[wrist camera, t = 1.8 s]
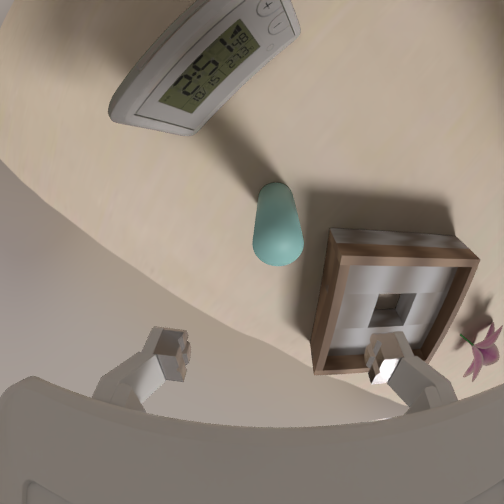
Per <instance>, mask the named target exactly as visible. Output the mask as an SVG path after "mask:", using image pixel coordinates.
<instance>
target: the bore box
mask: <svg viewBox="0 0 504 504" xmlns="http://www.w3.org/2000/svg"><path fill="white" fill-rule="evenodd" d="M479 262H480V259H479V258H478V257H477V256H476V255H475V254H474V253H473V252H472V251H471V250H470V249H469V248H468V247H467V246H466V245H465V244H464V243H463V242H462V241H460V240H459V239H458V238H457V237H456V236H448V235H435V234H422V233H408V232H393V231H377V230H359V229H339V228H330V229H329V237H328V244H327V251H326V258H325V264H324V271H323V277H322V283H321V289H320V294H319V300H318V305H317V311H316V316H315V321H314V326H313V331H312V336H311V340H310V346H311V354H312V363H313V371H314V375H332V374H350V373H363V372H369V370H370V368H368V367H367V366H366V364H365V358H364V355H365V350H366V347H367V345H369V344H370V343H371V342H370V337H371V335H372V334H373V333H384V332H396V331H402V332H404V334H405V336H406V339H407V341H408V343H409V345H410V347H411V350H412V352H413V354H414V356H418V357H419V358H420V359H422V360H423V361H424V362H426V363H427V364H429V362H430V360H431V359H432V357H433V356H434V354H435V352H436V351H437V349H438V347H439V346H440V344H441V342H442V340H443V339H444V337H445V335H446V333H447V332H448V330H449V328H450V326H451V324H452V322H453V320H454V318H455V316H456V314H457V312H458V310H459V308H460V306H461V304H462V302H463V300H464V298H465V296H466V293H467V291H468V289H469V287H470V284H471V282H472V279H473V277H474V275H475V272H476V270H477V267H478V264H479ZM379 294H401V295H400V298H399V301H398V303H397V306H396V309H378V310H374V308H375V305H376V302H377V299H378V296H379Z"/></svg>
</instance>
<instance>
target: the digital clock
mask: <svg viewBox="0 0 504 504" xmlns="http://www.w3.org/2000/svg"><path fill="white" fill-rule="evenodd" d="M300 32H301V31H300V25H299V22H298V19H297V16H296V13H295V10H294V8H293V5H292V2H291V0H197V1H196V2H194V3H193V4H192V5H191V6H190V7H189V8H188V9H187V10H186V11H185V12H184V13H182V14H181V15H180V16H179V17H178V18H177V19H176V20H175V21H174V22H173V23H172V24H171V25H170V26H169V27H168V28H167V29H166V30H165V31H164V32H163V34H162V35H161V36H160V37H159V38H158V39H157V40H156V41H155V42H154V43H153V44H152V46H151V47H150V48H149V49H148V50H147V51H146V52H145V54H144V55H143V56H142V57H141V58H140V60H139V61H138V62H137V63H136V65H135V66H134V67H133V68H132V70H131V71H130V72H129V74H128V75H127V76H126V78H125V79H124V80H123V82H122V83H121V85H120V86H119V87H118V89H117V90H116V92H115V93H114V95H113V97H112V99H111V101H110V104H109V108H108V114H109V117H110V119H111V120H112V121H113V122H116V123H120V124H125V125H130V126H136V127H141V128H146V129H152V130H157V131H161V132H166V133H171V134H175V135H181V136H192V135H194V134H195V133H196V132H198V131H199V130H200V129H201V127H202V126H203V125H204V124H205V123H206V122H207V121H208V120H209V119H210V118H211V117H212V116H213V115H214V114H215V113H216V112H217V111H218V110H219V109H220V108H221V107H222V105H223V104H224V103H225V102H226V101H227V100H228V99H229V98H230V97H231V96H232V95H233V94H235V93H236V92H237V91H238V90H239V89H240V88H241V87H242V86H243V85H244V84H245V83H246V82H247V81H248V80H249V79H250V78H251V77H252V76H254V75H255V74H256V73H257V72H258V71H259V70H260V69H261V68H262V67H263V66H265V65H266V64H267V63H268V62H269V61H270V60H272V59H273V58H274V57H275V56H276V55H277V54H279V53H280V52H281V51H282V50H283V49H285V48H286V47H287V46H288V45H289V44H291V43H292V42H293V41H294V40H295V39H296V38H297V37H298V36H299V35H300Z"/></svg>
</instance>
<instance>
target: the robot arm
mask: <svg viewBox="0 0 504 504" xmlns="http://www.w3.org/2000/svg"><path fill="white" fill-rule="evenodd" d="M187 339H188V333H187V331H186V330H180V329H172V328H164V327H156V326H154V327H153V328H152V330H151V332H150V334H149V336H148V339H147V341H146V343H145V345H144V348H143V350H142V352H138V353H136V354H135V355H133V356H132V357H130V358H129V359H127V360H126V361H125V362H123V363H122V364H120V365H119V366H117V367H116V368H114V369H113V370H111V371H110V372H108V373H107V374H105V375H104V376H102V377H101V379H100V381H99V383H98V385H97V387H96V390H95V391H94V394H93V396H92V398H90V397H87V396H84V395H81V394H78V393H76V392H73V391H70V390H67V389H65V388H62V387H60V386H57V385H55V384H52V383H50V382H47V381H45V380H43V379H41V378H38V377H36V376H30V377H27V378H25V379H23V380H21V381H19V382H17V383H16V384H14V385H12V386H10V387H9V388H8V389H6V391H5V392H4V393H3V394H2V395H1V397H0V504H504V384H501V385H499V386H496V387H494V388H491V389H489V390H486V391H484V392H481V393H479V394H476V395H473V396H470V397H468V398H465V399H462V400H459V401H458V399H457V397H456V394H455V392H454V389H453V387H452V385H451V382H450V381H449V380H448V379H447V378H445V377H444V376H443V375H441V374H440V373H439V372H437V371H436V370H435V369H433V368H432V367H431V366H430V365H428V364H427V363H426V362H424V361H423V360H422V359H420V358H419V357H418V356H414V354H413V352H412V350H411V347H410V345H409V343H408V341H407V339H406V336H405V334H404V332H402V331H396V332H384V333H373V334H372V335H371V337H370V342H371V343H370V344H369V345H367V347H366V350H365V355H364V358H365V364H366V366H367V367H368V368H370V370H369V372H368V375H369V378H370V382H371V384H380V383H387V384H388V385H389V386H390V387H391V388H392V389H393V390H394V391H395V392H396V393H397V395H398V396H399V397H400V398H401V399H402V400H403V401H404V402H405V403H406V404H407V405H408V406H409V407H410V408H409V409H408V411H407V412H406V413H405V414H404V415H402V416H397V417H392V418H386V419H380V420H374V421H367V422H360V423H352V424H343V425H333V426H332V425H331V426H318V427H291V428H290V427H289V428H273V427H244V426H230V425H219V424H210V423H201V422H194V421H186V420H180V419H175V418H169V417H164V416H158V415H153V414H149V413H146V411H145V409H144V408H143V406H142V403H143V402H144V401H145V400H146V399H147V398H148V397H149V396H150V395H152V394H153V392H155V391H156V390H157V389H158V388H159V387H160V386H161V385H162V384H163V383H164V382H165V381H166V380H172V381H180V382H184V379H185V375H186V372H187V369H186V365H187V364H188V363H189V361H190V356H191V346H190V343H189V342H188V341H187Z"/></svg>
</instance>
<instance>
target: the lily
mask: <svg viewBox="0 0 504 504" xmlns="http://www.w3.org/2000/svg"><path fill="white" fill-rule="evenodd" d="M502 326H503V325H502ZM502 326H501V327H500V328H499V329H498V330H497V331H496V332H494V331H495V327H494V322H492V323H491V326H490V328H489V331H488V333H487V335H486V337H485V339H484V340H483V341H482V342H479V343H477V344H475V345H474V344H473V343H471V342H470V341H469V340H468V339H466V338H465V337H464V336H463V335H462V334H460V336H462V337H463V338H464V339H465V340H466V341H468V342H469V343H470V344H471V345H472V351H473V355H474V359H473V361H472V363H471V365H470V366H469V368H468V369H467V371H466V372H465V374H464V375H463V377H466V376H468V375H470V374H471V373H473V378H472V382H473V381H474V380H475V379H476V377H477V375H478V374H479V372H480V370H481V368H482V365H485V366H487V365H491V364H494V363H496V362H497V361H498V360H499V351H498V348H497V346H496V345H495V344H494V343H495V341H496V340H497V338H498V336H499V334H500V332H501V330H502Z"/></svg>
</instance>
